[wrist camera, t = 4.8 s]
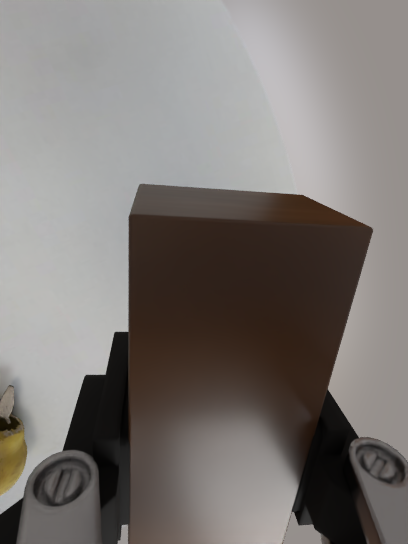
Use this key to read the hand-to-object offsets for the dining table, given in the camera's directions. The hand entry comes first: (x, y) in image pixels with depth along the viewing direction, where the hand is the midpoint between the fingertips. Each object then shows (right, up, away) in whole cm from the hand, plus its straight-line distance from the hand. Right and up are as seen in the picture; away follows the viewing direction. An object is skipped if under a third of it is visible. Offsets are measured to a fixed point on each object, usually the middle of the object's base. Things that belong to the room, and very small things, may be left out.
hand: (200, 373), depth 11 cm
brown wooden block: (0, 0, 0) cm, 0 cm away
